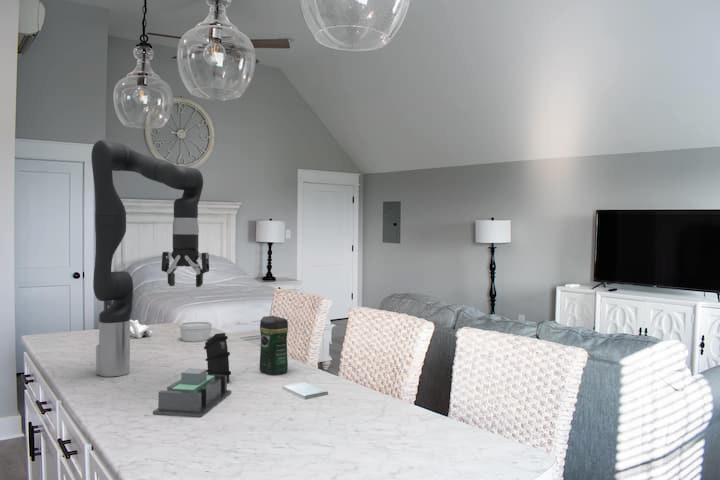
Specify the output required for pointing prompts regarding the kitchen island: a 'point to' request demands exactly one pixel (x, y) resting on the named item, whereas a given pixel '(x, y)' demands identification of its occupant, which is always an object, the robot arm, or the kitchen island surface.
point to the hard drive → (304, 390)
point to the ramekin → (195, 331)
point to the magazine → (218, 355)
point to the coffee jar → (273, 345)
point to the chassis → (192, 399)
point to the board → (193, 387)
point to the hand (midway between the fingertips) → (185, 286)
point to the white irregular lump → (139, 329)
